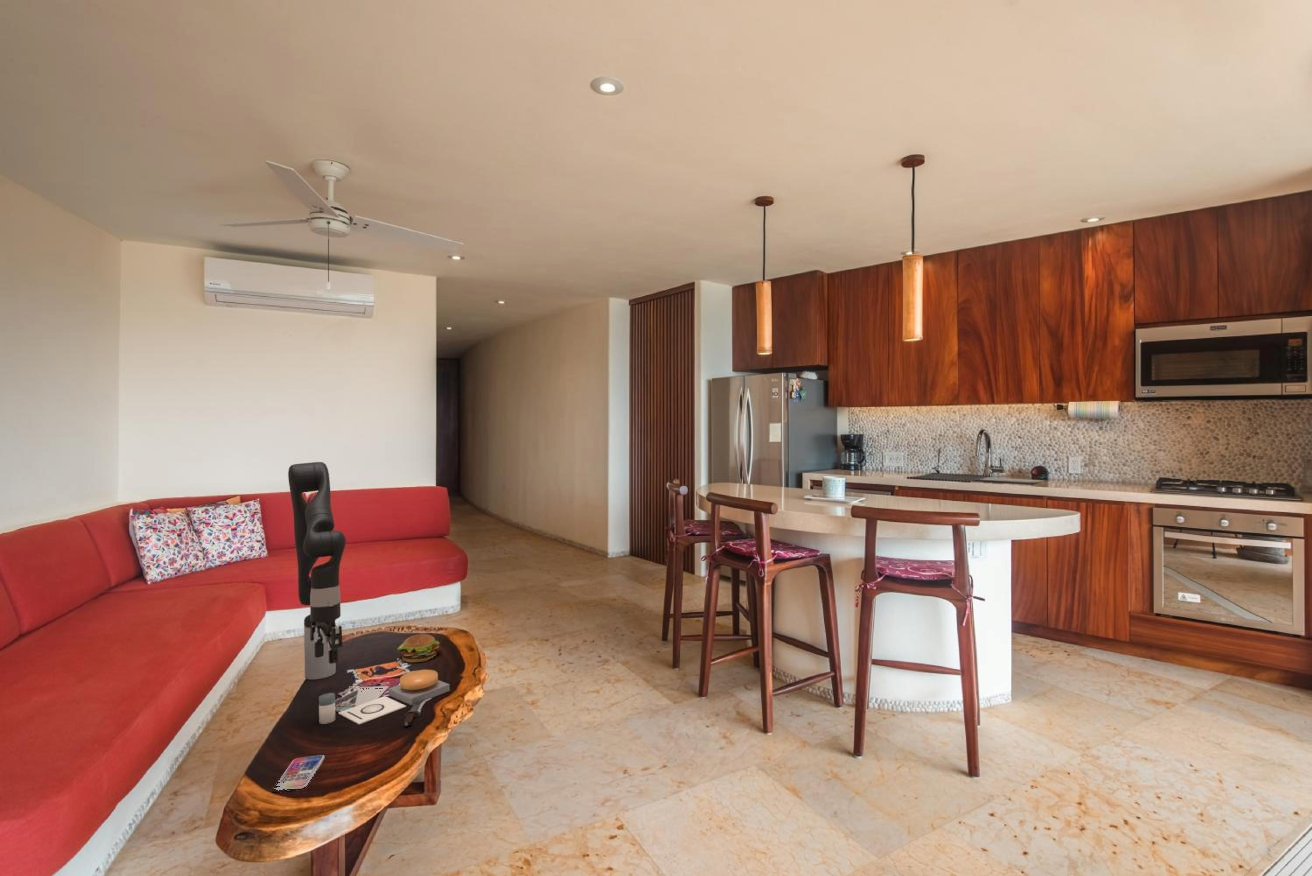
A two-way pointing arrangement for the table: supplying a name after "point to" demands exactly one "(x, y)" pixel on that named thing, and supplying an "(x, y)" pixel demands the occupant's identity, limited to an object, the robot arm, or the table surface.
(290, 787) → the smartphone
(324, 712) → the beige capped tube
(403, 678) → the button
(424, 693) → the button base
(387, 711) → the paper
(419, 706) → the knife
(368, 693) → the gaming console
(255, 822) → the table surface
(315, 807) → the table surface
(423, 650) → the food
